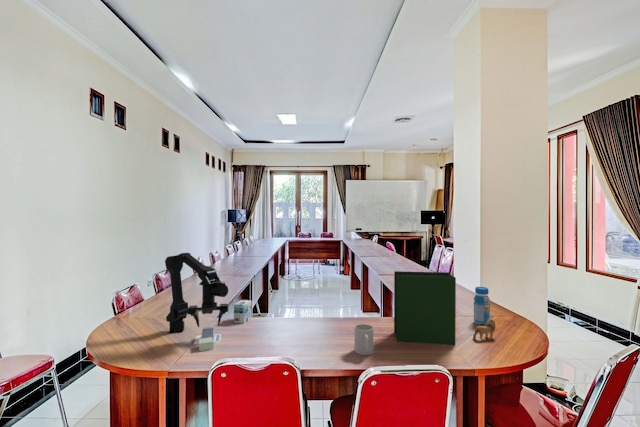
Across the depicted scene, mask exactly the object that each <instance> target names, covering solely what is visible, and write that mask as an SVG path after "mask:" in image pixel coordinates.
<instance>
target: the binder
mask: <svg viewBox="0 0 640 427" xmlns="http://www.w3.org/2000/svg"><path fill="white" fill-rule="evenodd" d="M393 276H394V277H393V278H394V281H393V282H394V286H393V287H394V288H393V290H394V292H393V293H394V296H393V297H394V298H393V300H394V301H393V302H394V303H393V306H394V307H393V308H394V309H393V310H394V312H393V313H394V315H393V320H394V321H393V322H394V323H393V325H394V326H393V332H394V336H395V340H396V342H397V343H411V344H412V343H413V344H426V345H427V344H429V345H443V346H444V345H445V346H456V315H457V314H456V313H457V312H456V309H457V308H456V307H457V306H456V305H457V304H456V302H457V298H456V296H457V295H456V294H457V291H456V290H457V289H456V286H457V285H456V283H457V282H456V281H457V280H456V279H457V278H456V277H455V276H453V275H452V274H451V273H450V272H447V271H445V272H440V271H401V270H400V271H396V270H395V271H394V275H393Z"/></svg>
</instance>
